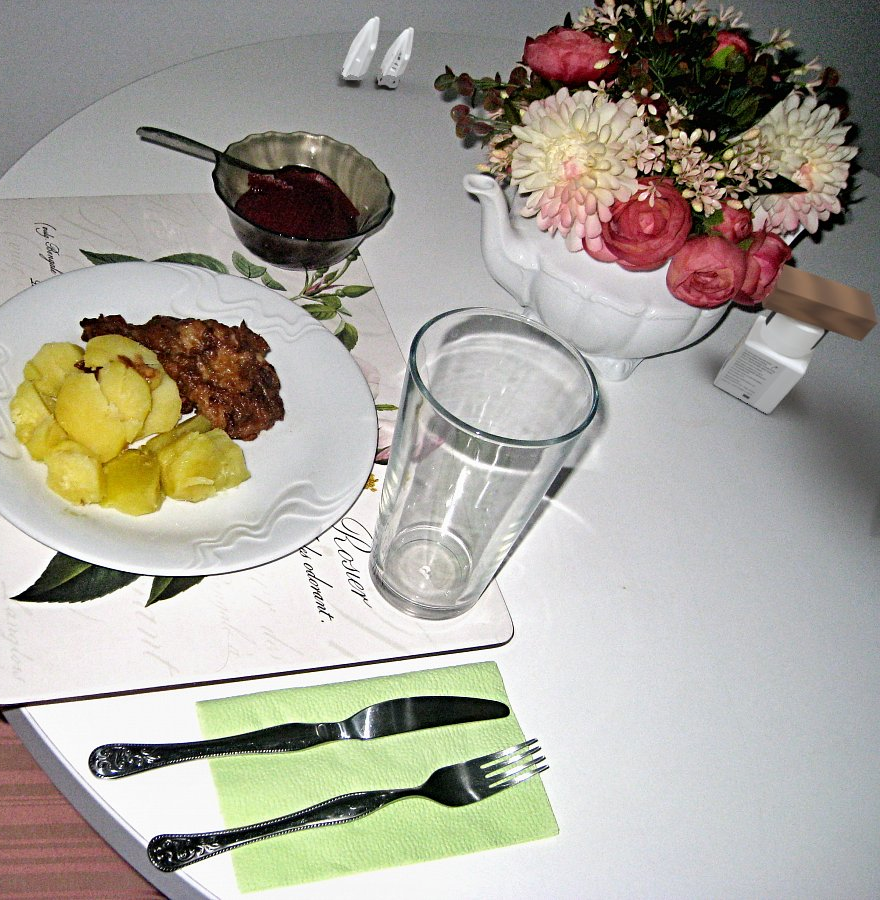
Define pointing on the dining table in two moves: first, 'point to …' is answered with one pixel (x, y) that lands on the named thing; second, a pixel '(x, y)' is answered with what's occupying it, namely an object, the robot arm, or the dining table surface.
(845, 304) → the wooden brick
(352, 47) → the shaker set
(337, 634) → the dining table surface
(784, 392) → the container
